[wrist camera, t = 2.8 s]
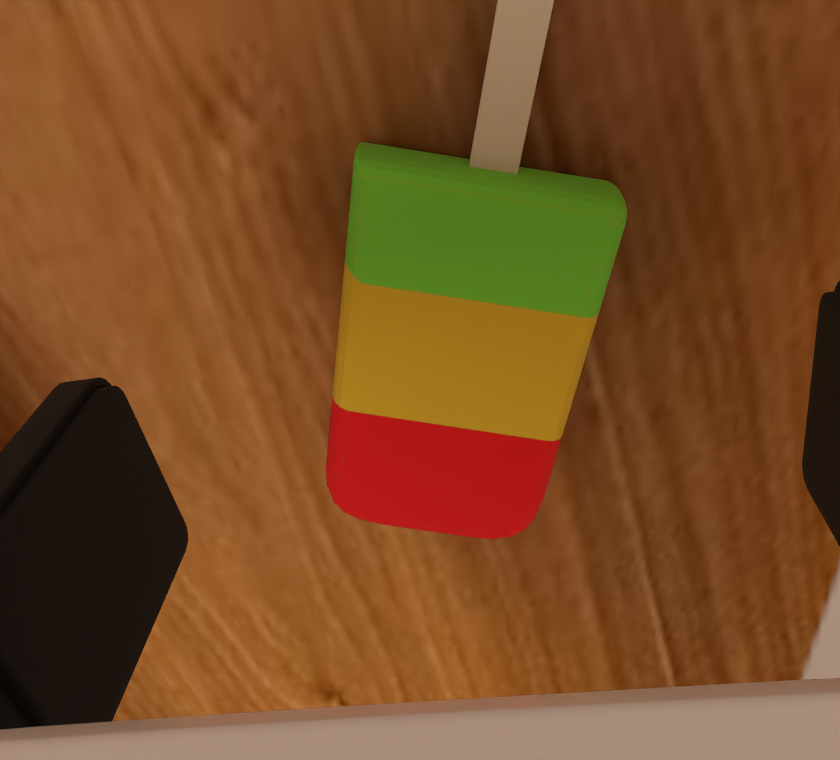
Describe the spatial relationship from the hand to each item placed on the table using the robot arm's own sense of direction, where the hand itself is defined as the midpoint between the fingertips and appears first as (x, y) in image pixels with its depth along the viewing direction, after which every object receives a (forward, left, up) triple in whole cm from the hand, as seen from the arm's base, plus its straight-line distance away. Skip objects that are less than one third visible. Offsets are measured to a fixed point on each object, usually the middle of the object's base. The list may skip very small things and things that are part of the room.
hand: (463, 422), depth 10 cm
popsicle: (0, 0, -8) cm, 8 cm away
